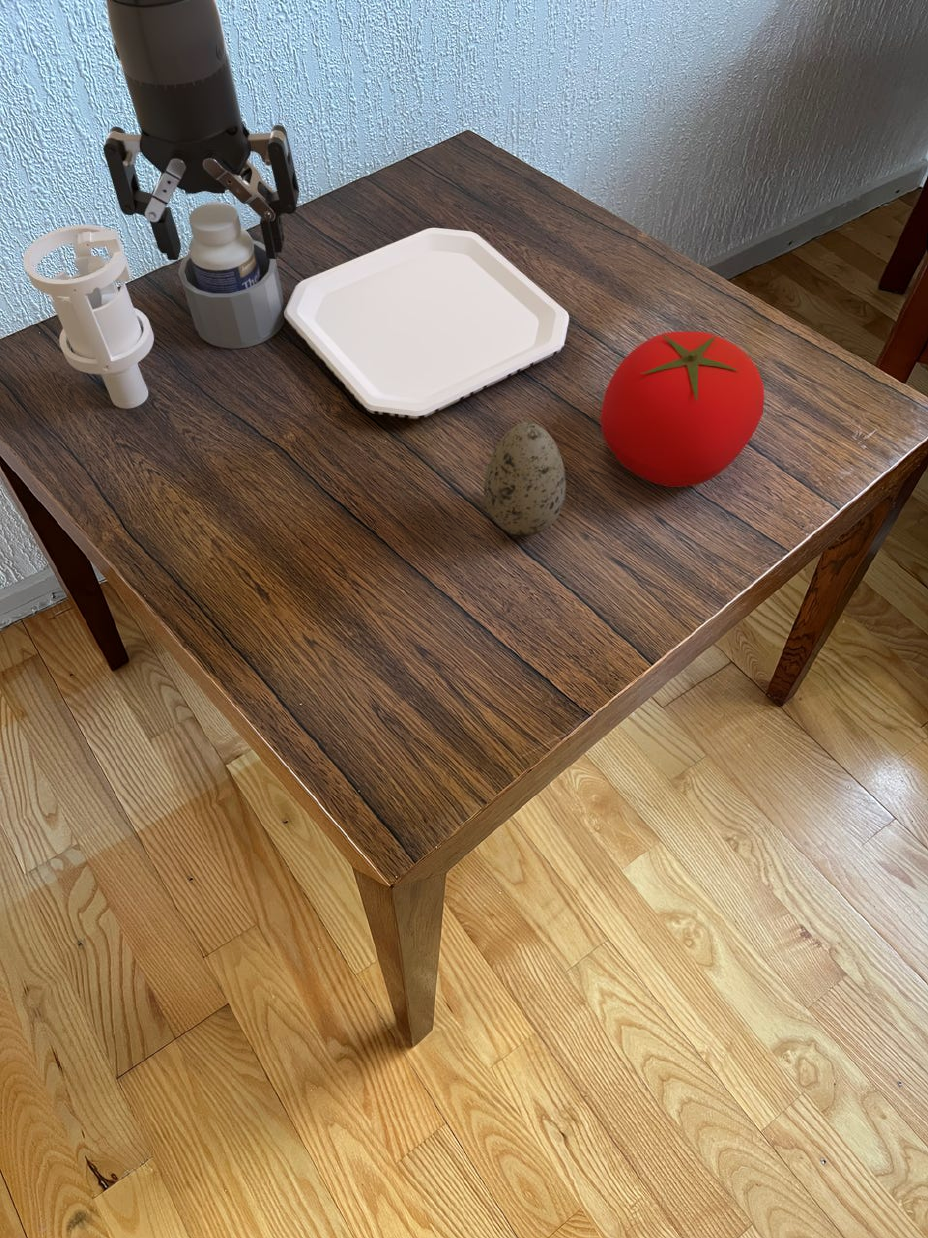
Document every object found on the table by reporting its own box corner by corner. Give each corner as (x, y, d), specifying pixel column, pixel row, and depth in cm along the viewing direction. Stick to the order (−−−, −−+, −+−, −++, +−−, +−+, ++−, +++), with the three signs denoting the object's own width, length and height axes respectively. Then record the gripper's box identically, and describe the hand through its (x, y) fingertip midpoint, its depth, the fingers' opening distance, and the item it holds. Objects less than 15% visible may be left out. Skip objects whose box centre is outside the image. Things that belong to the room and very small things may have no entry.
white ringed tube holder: (173, 418, 80) (116, 261, 67) (87, 431, 79) (13, 275, 67) (170, 362, 84) (116, 204, 71) (88, 374, 83) (19, 217, 71)
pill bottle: (264, 333, 85) (241, 235, 77) (203, 333, 85) (174, 235, 77) (271, 294, 88) (250, 196, 80) (213, 294, 88) (186, 196, 80)
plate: (590, 351, 84) (592, 330, 82) (389, 449, 78) (387, 430, 76) (457, 234, 93) (457, 213, 92) (270, 313, 87) (265, 293, 85)
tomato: (569, 469, 76) (581, 366, 67) (649, 384, 81) (669, 278, 73) (694, 535, 72) (723, 435, 63) (769, 441, 78) (806, 336, 69)
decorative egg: (558, 492, 75) (569, 396, 66) (564, 552, 71) (576, 459, 63) (482, 494, 75) (483, 398, 66) (485, 554, 71) (486, 461, 63)
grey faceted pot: (187, 349, 85) (171, 296, 80) (202, 289, 89) (187, 237, 85) (280, 348, 85) (268, 296, 80) (290, 289, 89) (280, 236, 85)
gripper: (280, 26, 70) (312, 227, 83) (85, 28, 70) (149, 227, 84) (267, 79, 66) (303, 281, 79) (60, 81, 66) (131, 282, 79)
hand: (224, 253), depth 81 cm, fingers open, 8 cm apart
